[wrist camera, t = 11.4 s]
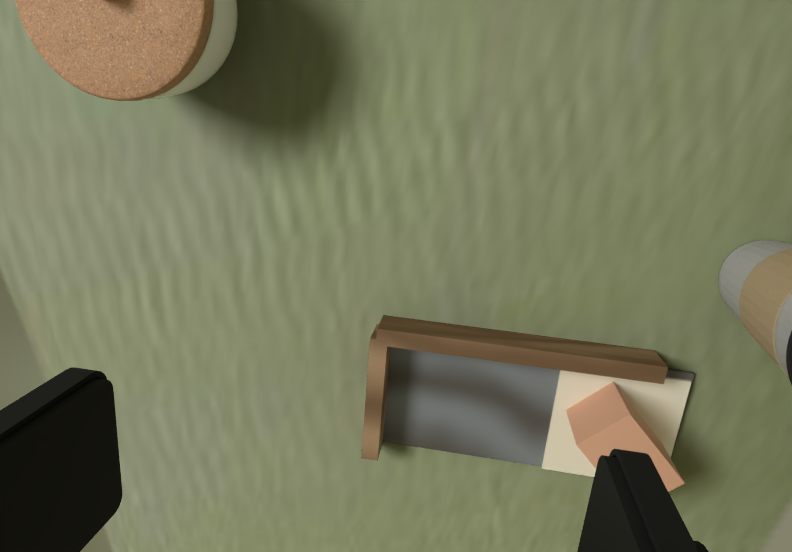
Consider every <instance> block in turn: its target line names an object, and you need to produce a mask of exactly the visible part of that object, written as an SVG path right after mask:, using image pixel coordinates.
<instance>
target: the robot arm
mask: <svg viewBox="0 0 792 552" xmlns="http://www.w3.org/2000/svg"><path fill="white" fill-rule="evenodd" d="M121 499H122V484H121V473H120V461H119V450H118V438H117V427H116V415H115V404H114V392H113V386H112V383H111V382H110V381H109V380H107V378H106V376H105V374H104V373H102V372H101V371H94V370H88V369H81V368H69V369H67V370H65V371H63V372H62V373H60V374H59V375H57V376H55V377H54V378H52V379H50V380H49V381H47V382H46V383H44V384H42V385H41V386H39V387H37V388H36V389H34V390H33V391H31V392H29V393H28V394H26V395H25V396H23V397H21V398H20V399H18V400H16V401H15V402H13V403H12V404H10V405H8V406H7V407H5V408H3V409H2V410H0V552H80V551H81V550H82V549H83V548H84V546H85V545H86V544H87V543H88V542H89V541H90V540H91V539H92V538H93V537H94V535H95V534H96V533H97V532H98V531H99V530H100V529H101V528H102V527H103V526H104V525H105V524H106V523H107V521H108V520H109V519H110V518H111V517H112V516H113V515H114V514H115V512H116V511H117V509H118V507H119V505H120V502H121ZM577 552H708V550H707V549H706V547H705V546H704V545H703V544H701V543H700V542H698V541H693V540H692V538H691V536H690V534H689V532H688V530H687V528H686V526H685V524H684V522H683V520H682V518H681V516H680V514H679V512H678V510H677V508H676V506H675V504H674V502H673V500H672V498H671V496H670V494H669V493H668V491H667V489H666V487H665V485H664V483H663V481H662V479H661V477H660V475H659V473H658V471H657V469H656V467H655V465H654V463H653V461H652V459H651V457H650V456H649V455H648V454H646V453H641V452H634V451H627V450H621V449H613V450H612V451H611V453H610V455H609V456H604V455H601V456H600V457H599V460H598V463H597V467H596V472H595V476H594V481H593V485H592V489H591V494H590V498H589V503H588V507H587V512H586V516H585V520H584V525H583V529H582V534H581V538H580V543H579V547H578V551H577Z"/></svg>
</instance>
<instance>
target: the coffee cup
mask: <svg viewBox="0 0 792 552" xmlns="http://www.w3.org/2000/svg"><path fill="white" fill-rule="evenodd" d="M719 289H720V293H721V296H722V298H723V300H724V302H725V303H726V304H727V305H728V306H729V307H730V308H731V310H732V311H733V312H734V313H735V314H736V315H737V316H738V317H739V319H740V320H741V321H742V322H743V324H744V326H745V328H746V330H747V331H748V332H749V333H750V334H751V336H752V337H753V338H754V339H755V340H756V341H757V342H758V343H759V345H760V346H761V347H762V348H763V349H764V350H765V351H766V352H767V354H768V355H769V356H770V357H771V358H772V359H773V360H774V361H775V363H776V364H777V365H778V366H779V367H780V368H781V369H782V370H783V372H784V373H785V374H786V375H787V376H788V377H789V379H790V382H791V384H792V244H791V243H786V242H781V241H775V240H761V241H754V242H751V243H748V244H745V245H743V246H741V247H739V248H737V249H736V250H734V251H733V252H732V253H731V254H730V255H729V256H728V257H727V258H726V260H725V262H724V263H723V265H722V268H721V271H720V275H719Z"/></svg>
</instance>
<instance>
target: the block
mask: <svg viewBox="0 0 792 552" xmlns="http://www.w3.org/2000/svg"><path fill="white" fill-rule="evenodd" d="M566 413H567V416H568V419H569V422H570V426H571V429H572V432H573V436H574V439H575V442H576V445H577V446H578V448H579V449H580V450H581V451H582V452H583V454H584V455H585V456H586V457H587V459H588V460H589V461H590V462H591V463H592V465H593V466H594V467H595V468H596V467H597V463H598V460H599V457H600V456H601V455H604V456H609V455H610V453H611V451H612V450H613V449H621V450H627V451H634V452H641V453H646V454H648V455H649V456H650V457H651V459H652V461H653V463H654V465H655V467H656V469H657V471H658V473H659V475H660V477H661V479H662V481H663V483H664V485H665V487H666V489H667V491H668V492H669V491H671V490H673V489H675V488H677V487H679V486H681V485H683V484H685V483H684V481H683V479H682V477H681V475H680V474H679V472H678V470H677V468H676V467H675V465H674V463H673V461H672V460H671V458H670V456H669V454H668V453H667V451H666V449H665V447H664V446H663V444H662V442H661V441H660V440H659V439H658V437H657V436H656V435H655V434H654V432H653V431H652V430H651V429H650V427H649V426H648V425H647V424H646V422H645V421H644V420H643V419H642V417H641V416H640V415H639V413H638V412H637V411H636V410H635V408H634V407H633V406H632V405H631V403H630V402H629V401H628V400H627V398H626V397H625V396H624V395H623V393H622V392H621V391H620V389H619V388H618V387H617V386H616V384H615V383H614V382H611V383H610V384H608V385H606V386H605V387H603V388H601V389H600V390H598V391H596V392H595V393H593V394H591V395H590V396H588V397H586V398H585V399H583V400H581V401H580V402H578V403H576V404H575V405H573V406H571V407H570V408H568V409H566Z"/></svg>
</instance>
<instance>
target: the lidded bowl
mask: <svg viewBox="0 0 792 552" xmlns="http://www.w3.org/2000/svg"><path fill="white" fill-rule="evenodd" d="M15 3H16V6H17V9H18V12H19V15H20V18H21V21H22V23H23V25H24V27H25V30H26V32H27V34H28V36H29V38H30V39H31V41H32V42H33V44H34V46H35V47H36V49H37V50H38V52H39V53H40V54H41V56H42V57H43V58H44V59H45V61H46V62H47V63H48V64H49V65H50V66H51V67H52V68H53V69H54V70H55V71H56V72H57V73H58V74H59V75H60V76H61V77H62V78H64V79H65V80H67V81H68V82H69V83H71V84H72V85H73V86H75V87H77V88H79V89H81V90H83V91H85V92H86V93H89V94H92V95H95V96H97V97H100V98H105V99H111V100H118V101H138V100H143V99H160V98H166V97H171V96H176V95H180V94H183V93H185V92H188V91H190V90H193V89H195V88H197V87H198V86H200V85H202V84H203V83H205V82H206V81H208V80H209V79H210V78H211V77H212V76H213V75H214V74H215V73H216V72H217V71H218V69H219V68H220V67H221V66H222V64H223V63H224V62H225V60H226V58H227V56H228V54H229V53H230V51H231V48H232V45H233V42H234V39H235V34H236V29H237V16H238V13H237V1H236V0H15Z"/></svg>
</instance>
